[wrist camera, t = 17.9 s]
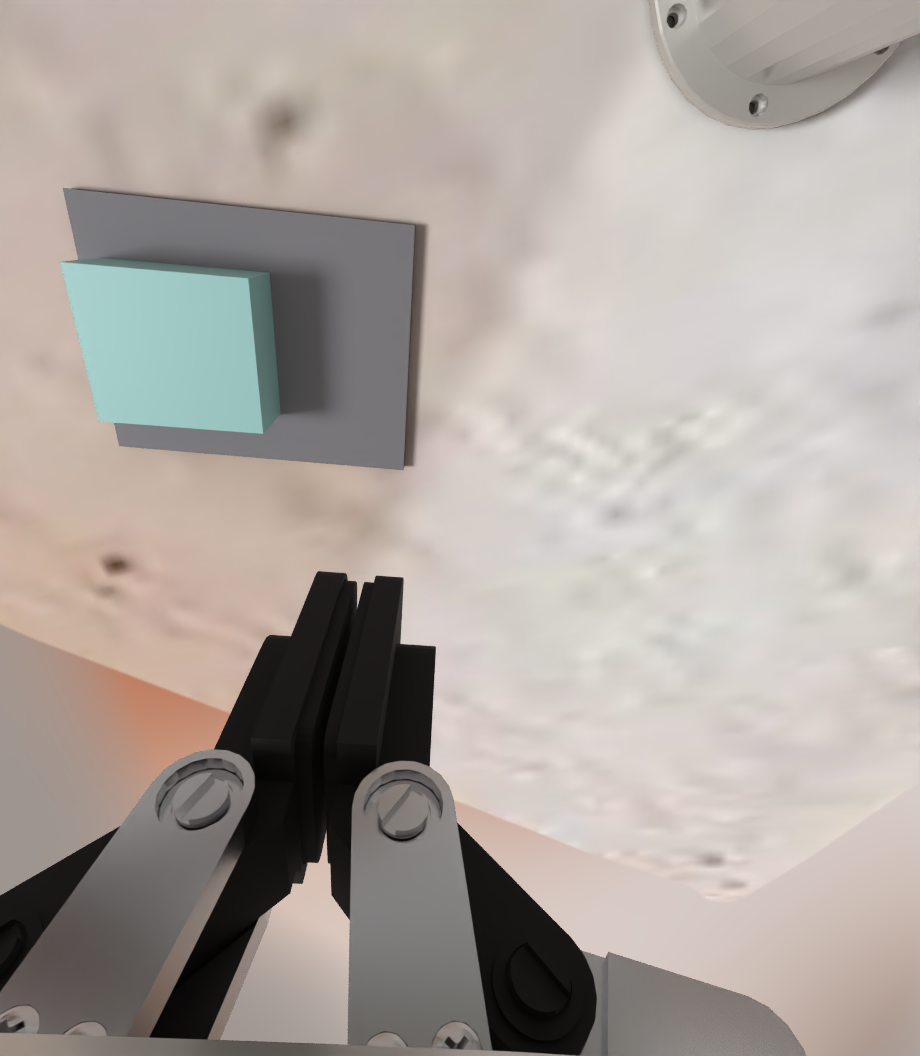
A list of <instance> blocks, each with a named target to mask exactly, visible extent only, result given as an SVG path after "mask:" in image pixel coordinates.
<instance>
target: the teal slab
mask: <svg viewBox="0 0 920 1056" xmlns="http://www.w3.org/2000/svg"><path fill="white" fill-rule="evenodd" d="M60 264H61V268H62V272H63V276H64V281H65V285H66V289H67V293H68V297H69V301H70V305H71V309H72V313H73V317H74V321H75V326H76V330H77V334H78V338H79V342H80V346H81V350H82V354H83V358H84V362H85V366H86V371H87V375H88V379H89V383H90V387H91V391H92V395H93V399H94V403H95V407H96V411H97V416H98V420H99V421H101V422H114V423H127V424H140V425H153V426H167V427H180V428H193V429H206V430H219V431H233V432H246V433H259V434H263V433H264V432H265V431H266V430H267V429H268V428H269V427H270V426H271V425H272V424H273V422H274V421H275V420H276V419H277V418H278V417H279V416H280V415H281V413H280V400H279V387H278V374H277V362H276V349H275V336H274V324H273V311H272V298H271V285H270V273H269V272H257V271H246V270H234V269H223V268H212V267H200V266H189V265H177V264H166V263H155V262H143V261H132V260H120V259H109V258H94V259H84V260H75V261H65V262H60Z"/></svg>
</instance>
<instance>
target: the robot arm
mask: <svg viewBox="0 0 920 1056" xmlns="http://www.w3.org/2000/svg"><path fill="white" fill-rule="evenodd" d="M649 5H650V16H651V25H652V29H653V32H654V36H655V40H656V44H657V47H658V51H659V55H660V57H661V59H662V61H663V63H664V65H665V67H666V69H667V71H668V73H669V76H670V78H671V80H672V81H673V82H674V84H675V85H676V86H677V87H678V89H679V90H680V91H681V93H682V94H683V95H684V97H685V98H686V99H687V100H688V101H689V102H690V103H691V104H693V105H694V106H695V107H696V108H698V109H699V110H700V111H701V112H703V113H704V114H705V115H707V116H709V117H711V118H713V119H715V120H717V121H720V122H722V123H724V124H726V125H730V126H736V127H742V128H747V129H759V128H775V127H778V126H782V125H786V124H790V123H794V122H798V121H800V120H803V119H805V118H808V117H810V116H813V115H815V114H818V113H821V112H823V111H824V110H826V109H828V108H829V107H831V106H833V105H834V104H836V103H837V102H839V101H841V100H842V99H844V98H846V97H847V96H849V95H850V94H851V93H852V92H853V91H855V90H856V89H857V88H858V87H859V86H861V85H862V84H863V83H864V82H865V81H866V80H868V79H869V78H870V77H871V76H872V75H873V74H874V73H875V72H876V71H877V70H878V69H879V68H880V67H881V66H882V65H883V64H884V63H885V62H886V60H887V59H888V58H889V57H890V56H891V55H892V54H893V53H894V51H895V50H896V49H897V47H898V46H899V45H900V43H901V42H902V40H905V39H907V38H910V37H912V36H915V35H917V34H920V0H649ZM670 15H671V16H673V17H674V19H675V25H674V28H670V27H669V25H668V23H667V17H668V16H670ZM750 102H752V103H753V104H754V106H755V107H754V111H753V113H752V114H750V111H749V104H750ZM402 601H403V578H401V577H387V576H376V577H375V581H374V583H370V582H364V585H363V589H362V593H361V596H360V600H359V604H358V608H357V582H356V581H347V574H346V573H334V572H321V571H319V572H317V574H316V576H315V578H314V581H313V583H312V586H311V588H310V591H309V593H308V596H307V598H306V601H305V603H304V606H303V608H302V611H301V613H300V615H299V618H298V620H297V623H296V625H295V628H294V630H293V633H292V635H291V636H277V635H269V636H268V637H266V639H265V641H264V643H263V645H262V647H261V649H260V651H259V653H258V655H257V658H256V660H255V662H254V664H253V666H252V668H251V671H250V673H249V675H248V677H247V679H246V681H245V683H244V686H243V688H242V690H241V692H240V694H239V696H238V699H237V701H236V703H235V705H234V707H233V709H232V712H231V714H230V716H229V718H228V720H227V722H226V725H225V727H224V729H223V731H222V733H221V735H220V738H219V740H218V742H217V744H216V746H215V748H214V750H212V749H211V750H206V751H201V752H196V753H193V754H191V755H189V756H186V757H184V758H181V759H179V760H178V761H176V762H175V763H173V764H172V765H170V766H169V767H167V768H166V769H164V770H163V771H162V773H161V774H160V775H159V776H158V777H157V778H156V779H155V780H154V781H153V782H152V784H151V785H150V786H149V788H148V789H147V790H146V792H145V793H144V794H143V796H142V797H141V799H140V800H139V801H138V803H137V804H136V806H135V807H134V808H133V810H132V811H131V812H130V814H129V815H128V817H127V818H126V819H125V821H124V822H123V823H122V825H121V826H120V827H118V828H116V829H115V830H113V831H111V832H109V833H108V834H106V835H104V836H102V837H101V838H99V839H97V840H95V841H94V842H92V843H90V844H88V845H87V846H85V847H83V848H82V849H80V850H78V851H76V852H75V853H73V854H71V855H70V856H68V857H66V858H64V859H63V860H61V861H59V862H58V863H56V864H54V865H52V866H51V867H49V868H47V869H46V870H44V871H42V872H40V873H39V874H37V875H35V876H33V877H32V878H30V879H28V880H26V881H25V882H23V883H21V884H19V885H18V886H16V887H14V888H13V889H11V890H9V891H7V892H6V893H4V894H2V895H0V1056H806V1054H805V1051H804V1049H803V1047H802V1046H801V1044H800V1043H799V1041H798V1040H797V1038H796V1037H795V1035H794V1034H793V1032H792V1031H791V1029H790V1028H789V1026H788V1025H787V1024H786V1023H785V1022H784V1021H783V1020H782V1019H781V1018H780V1017H778V1016H777V1015H776V1014H775V1013H774V1012H773V1011H772V1010H771V1009H770V1008H769V1007H767V1006H766V1005H764V1004H762V1003H760V1002H758V1001H756V1000H754V999H752V998H750V997H748V996H745V995H742V994H739V993H736V992H733V991H730V990H726V989H723V988H720V987H717V986H713V985H711V984H708V983H704V982H701V981H698V980H695V979H692V978H688V977H686V976H682V975H679V974H676V973H673V972H670V971H666V970H663V969H660V968H657V967H654V966H651V965H647V964H645V963H641V962H638V961H635V960H632V959H629V958H626V957H623V956H619V955H616V954H613V953H610V952H608V954H607V956H606V958H603V957H600V956H597V955H594V954H591V953H587V952H584V951H581V950H580V949H579V948H578V946H577V945H576V944H575V942H574V941H573V940H572V938H571V937H570V936H569V935H568V934H567V933H566V932H565V931H564V930H563V929H562V928H561V927H560V926H559V925H558V924H557V923H556V922H555V921H554V920H553V919H552V918H551V917H550V916H549V915H548V914H547V913H546V912H545V911H544V910H543V909H542V908H541V907H540V906H539V905H538V904H537V903H536V902H535V901H534V900H533V899H532V898H531V897H530V896H529V895H528V894H527V893H526V892H525V891H524V890H523V889H522V888H521V887H520V886H519V885H518V884H517V883H516V882H515V881H514V880H513V878H512V877H511V876H510V875H509V874H508V873H506V871H505V870H504V869H503V868H502V867H501V866H499V864H498V863H497V862H496V861H495V860H494V859H493V858H492V857H491V856H489V854H488V853H487V852H486V851H485V850H484V849H483V848H482V847H481V846H480V845H479V844H478V843H477V842H476V841H475V840H474V839H473V838H472V837H471V836H470V835H469V834H468V833H467V832H466V831H465V830H464V829H463V828H462V827H461V826H460V825H459V824H458V823H457V819H456V812H455V806H454V800H453V797H452V793H451V790H450V787H449V785H448V784H447V783H446V781H445V780H444V779H443V777H442V776H441V775H440V774H439V773H437V772H436V771H435V770H433V769H432V768H430V748H431V729H432V710H433V692H434V673H435V654H436V647H435V646H421V645H406V644H400V639H401V620H402ZM326 830H327V855H328V863H330V865H331V892H332V896H333V897H334V899H335V901H336V902H337V903H338V904H339V906H340V907H341V909H342V910H343V912H344V913H345V914H346V916H347V917H348V918H349V920H350V944H349V996H348V998H349V999H348V1045H337V1044H313V1043H285V1042H258V1041H229V1040H220V1038H221V1036H222V1034H223V1031H224V1029H225V1026H226V1024H227V1022H228V1019H229V1017H230V1014H231V1012H232V1010H233V1007H234V1005H235V1002H236V1000H237V997H238V995H239V992H240V990H241V988H242V985H243V983H244V980H245V978H246V975H247V973H248V970H249V968H250V966H251V963H252V961H253V958H254V956H255V954H256V951H257V949H258V946H259V944H260V941H261V939H262V936H263V934H264V932H265V929H266V927H267V924H268V920H269V916H270V913H271V908H272V907H273V906H275V905H276V904H277V903H278V902H280V901H281V900H282V899H283V898H285V897H286V896H287V895H288V894H290V892H291V887H292V884H293V883H298V884H302V883H303V880H304V876H305V871H306V867H307V863H308V862H312V863H318V862H319V860H320V856H321V853H322V848H323V843H324V839H325V834H326Z"/></svg>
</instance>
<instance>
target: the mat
mask: <svg viewBox="0 0 920 1056" xmlns="http://www.w3.org/2000/svg"><path fill="white" fill-rule="evenodd" d="M63 191H64V196H65V200H66V205H67V209H68V214H69V218H70V223H71V228H72V232H73V237H74V241H75V246H76V250H77V255H78V260H84V259H94V258H109V259H120V260H132V261H143V262H155V263H166V264H177V265H189V266H200V267H212V268H223V269H234V270H246V271H257V272H269V273H270V285H271V298H272V311H273V324H274V336H275V349H276V362H277V374H278V387H279V400H280V413H281V415H280V416H279V417H278V418H277V419H276V420H275V421H274V422H273V424H272V425H271V426H270V427H269V428H268V429H267V430H266V431H265V432H264V433H263V434H259V433H246V432H233V431H219V430H206V429H193V428H180V427H167V426H153V425H140V424H127V423H114V424H115V429H116V433H117V438H118V442H119V446H125V447H136V448H148V449H160V450H172V451H184V452H196V453H207V454H219V455H231V456H243V457H255V458H267V459H278V460H290V461H302V462H314V463H326V464H338V465H349V466H361V467H373V468H385V469H397V470H403V469H404V458H405V437H406V416H407V395H408V373H409V352H410V331H411V310H412V288H413V267H414V246H415V225H409V224H400V223H390V222H381V221H371V220H362V219H352V218H343V217H333V216H324V215H314V214H305V213H295V212H286V211H276V210H267V209H257V208H248V207H238V206H229V205H219V204H210V203H200V202H191V201H181V200H172V199H162V198H153V197H143V196H134V195H124V194H115V193H105V192H96V191H87V190H77V189H67V188H63Z"/></svg>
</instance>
